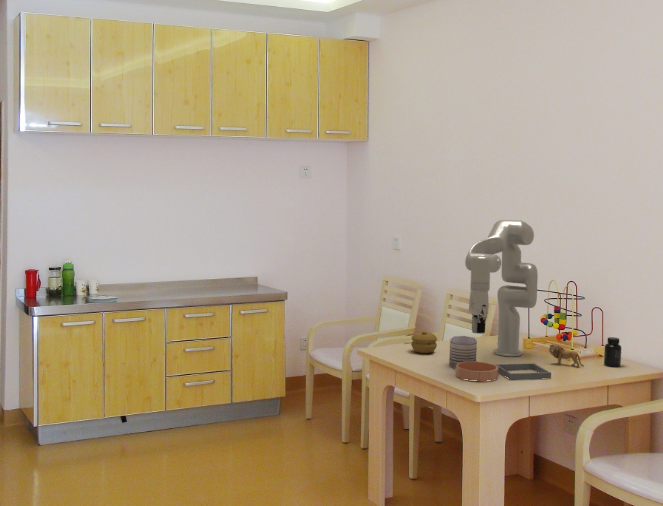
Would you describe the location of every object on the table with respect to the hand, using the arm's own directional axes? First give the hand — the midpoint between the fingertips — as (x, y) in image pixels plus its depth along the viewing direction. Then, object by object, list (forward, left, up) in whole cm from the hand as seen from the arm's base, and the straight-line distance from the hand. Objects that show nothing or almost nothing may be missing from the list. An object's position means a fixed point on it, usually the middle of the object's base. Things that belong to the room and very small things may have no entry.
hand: (478, 330), depth 301 cm
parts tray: (-1, +20, -19) cm, 27 cm away
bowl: (0, 0, -19) cm, 19 cm away
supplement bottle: (-11, +66, -19) cm, 70 cm away
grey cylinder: (0, 0, -1) cm, 1 cm away
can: (-17, 0, -19) cm, 26 cm away
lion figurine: (-13, +45, -19) cm, 51 cm away
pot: (-44, -9, -19) cm, 49 cm away
